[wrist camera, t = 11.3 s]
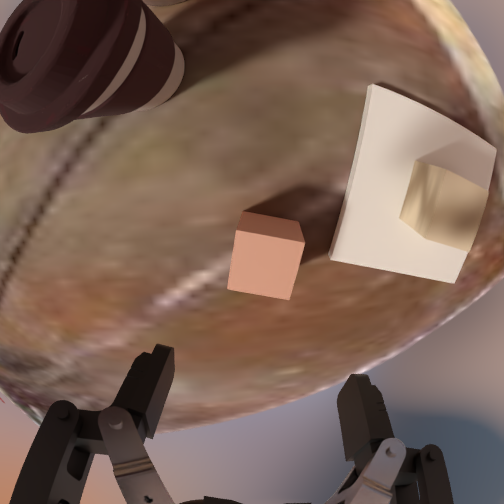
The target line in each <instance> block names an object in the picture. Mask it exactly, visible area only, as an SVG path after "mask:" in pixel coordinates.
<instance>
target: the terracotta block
mask: <svg viewBox="0 0 504 504" xmlns="http://www.w3.org/2000/svg"><path fill="white" fill-rule="evenodd" d="M304 246H305V241H304V237H303V234H302V231H301V228H300V225H299V222H298V221H293V220H288V219H283V218H278V217H272V216H267V215H262V214H256V213H251V212H245V211H243V212H242V215H241V218H240V221H239V224H238V227H237V230H236V236H235V242H234V248H233V254H232V261H231V267H230V274H229V280H228V287H227V289H230V290H235V291H240V292H246V293H252V294H257V295H263V296H269V297H275V298H281V299H287V300H289V299H290V295H291V292H292V289H293V285H294V282H295V278H296V275H297V271H298V268H299V264H300V260H301V257H302V253H303V249H304Z"/></svg>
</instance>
